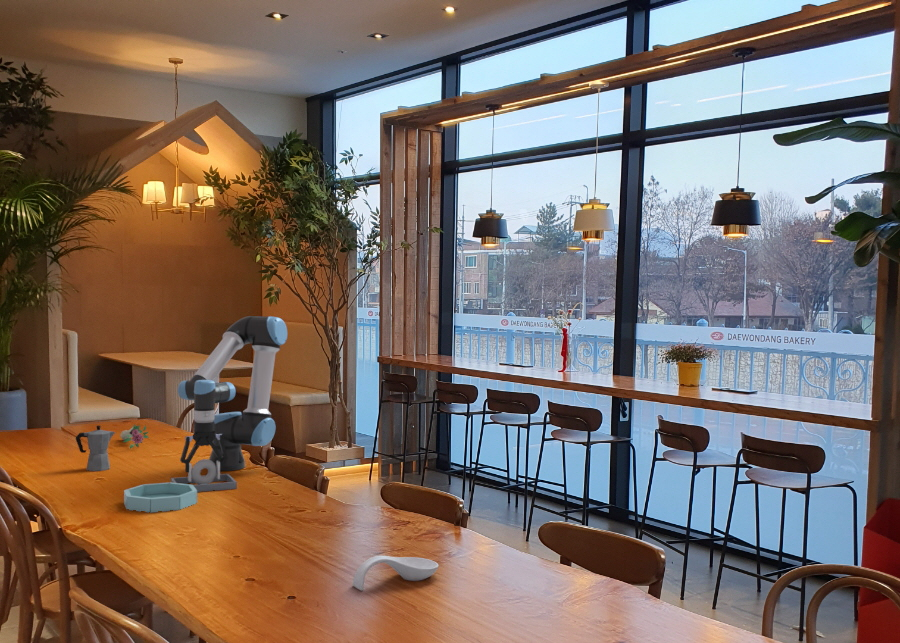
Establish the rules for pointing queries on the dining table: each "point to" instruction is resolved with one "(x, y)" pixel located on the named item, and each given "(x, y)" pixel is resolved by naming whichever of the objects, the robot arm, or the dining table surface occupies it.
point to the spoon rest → (397, 568)
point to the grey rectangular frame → (210, 487)
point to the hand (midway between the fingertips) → (204, 479)
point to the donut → (197, 469)
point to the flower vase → (134, 435)
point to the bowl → (160, 497)
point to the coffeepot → (96, 448)
